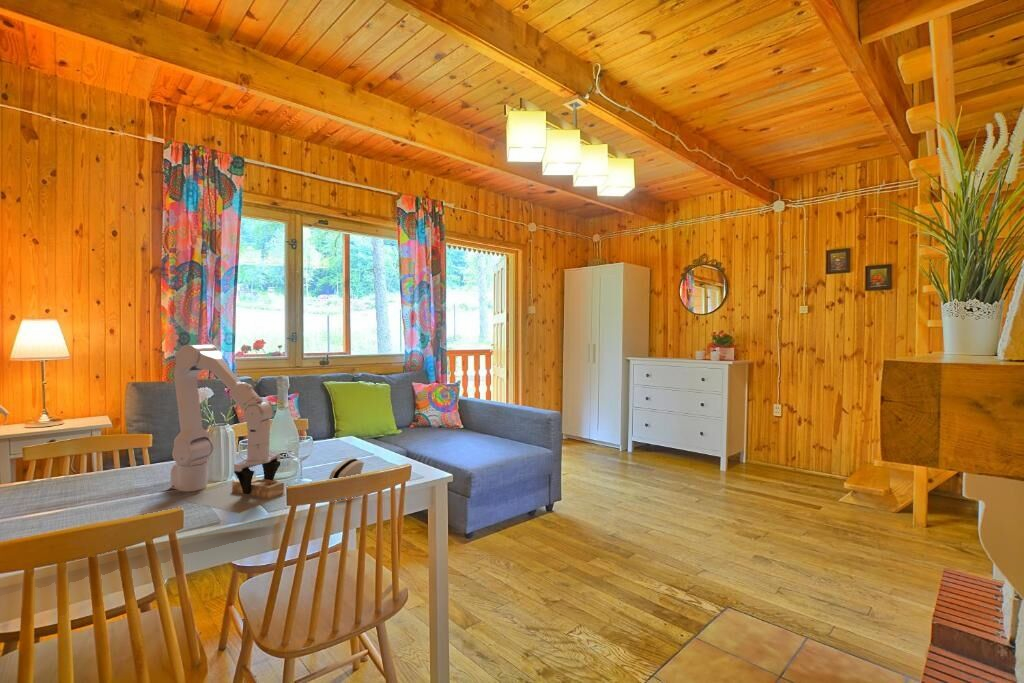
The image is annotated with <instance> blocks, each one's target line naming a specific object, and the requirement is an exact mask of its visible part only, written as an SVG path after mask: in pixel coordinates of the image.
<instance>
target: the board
mask: <svg viewBox="0 0 1024 683" xmlns="http://www.w3.org/2000/svg"><path fill="white" fill-rule="evenodd" d="M259 483H261V482H257V483H255V484H259ZM287 486H288V485H286V484H284V493H281V494H279V495H276V496H273V497H271V498H264V497H259V496H254V495H249V494H244V493H239V492H233V491H232V483H230V484H227V485H223V486H221V487H217V488H214V489H210V490H208V491H204V492H201V493H198V494H195V495H192V496H188V497H186V498H183V499H180V500H179V501H182V502H187V503H191V504H194V505H199V506H204V507H210V508H213V509H218V510H223V511H229V512H232V513H236V514H237V513H238V514H240V513H243V512H245V511H248V510H250V509H252V508H256V507H258V506H260V505H265V504H266V503H269V502H271V501H274V500H276V499H279V498H281V497H284V496H286V495H285V488H286V487H287Z"/></svg>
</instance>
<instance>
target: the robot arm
mask: <svg viewBox="0 0 1024 683" xmlns="http://www.w3.org/2000/svg"><path fill="white" fill-rule="evenodd" d="M174 356H175V357H174V358H175V366H174V370H173V377H174V378H173V379H174V387H175V388H174V389H175V395H176V403H177V404H176V405H177V411H178V413H177V414H178V420H179V428H180V431H179V433H178V434H177V436H176V437H175V438H174V440H173V449H172V455H171V456H172V458H173V460H174V462H175V463H174V464H173V465H172V467H171V469H170V489H175V490H178V491H179V492H180V491H181V492H195V491H200V490H203V489H206V488H207V487H208V460H209V461H210V456H211V455H212V454H213V452H214V449H215V448H214V443H213V441H212V439H211V437H210V433H209V431H207V430H205V429H204V428H203V423H202V422H203V421H202V420H203V418H202V413H201V405H200V404H201V403H200V397H199V396H200V394H199V386H198V378H197V377H198V376H199V374H201V373H202V372H203V370H207V371H210V372H212V373H213V374H214V375H215V376H216V377H217V378H218V379H219V380H220V382H222V384H224V385H225V386H226V387H227V388H228V389H229V394H228V395H229V398H231V399H232V400H233V401H234V402H235V404H236V405H237V406H238V407H239V408H240V409H241V410H242V411H243V414H242V417H243V419H244V421H245V422H246V427H247V445H246V446H247V450H246V451H247V452H246V453H247V454H246V459H243V460H241V461H239V462H235V463H234V464H233V467H234V468H233V469H234V470H233V471H234V472H233V473H234V475H235V476H236V477H237V479H239V481H240V484H241V487H242V491H243V493H244V494H250V492H251V482H252V477H254V475H255V470H251V469H250V468H254V467H257V466H259V465H262V466H261V467H262V470H263V479H267V480H273V481H274V479H275V475H276V473H277V471H278V469H279V467H280V466H281V461H280V460H281V453H280V452H272V453H270V436H271V435H270V432H271V431H270V430H271V429H270V428H271V426H270V425H271V423H270V422H271V420H270V419H272V417H273V416H274V414H275V408H274V406H273V405H272V402H270V401H268V400H265V399H263V397H261V396H259V394H258V393H257V392H256V391H255V390H254V389H253V387H254V386H253V385H252V384H250V383H248V382H244V381H241V380H240V379H239V377H238V376H236V374H235V373H234V370H232V369H231V368H230V366H229V365H228V364H227V362H226V361H225V360H224V358H223V353H222V352H221V351H219V349H218V348H217V347H216V346H215V345H214V344H211V343H206V344H193V345H192V344H184V345H182V346H181V347H180V348H179V349H178V350H177V351H176V352H175V353H174Z"/></svg>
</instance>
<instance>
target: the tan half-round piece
mask: <svg viewBox="0 0 1024 683" xmlns="http://www.w3.org/2000/svg"><path fill="white" fill-rule="evenodd" d="M364 464H365V463H364V461H362V460H358V458H355V457H349V458H345V459H344V460H343V461H341V462H340V463H339V464H338V465H336V466H335V467H334V468H333V469H332V471H331V472H330V475H329V477H328V479H332V478H339V477H346V476H351V475H356V474H360V475H361V473H362V470H363V467H364Z"/></svg>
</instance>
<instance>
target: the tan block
mask: <svg viewBox="0 0 1024 683" xmlns="http://www.w3.org/2000/svg"><path fill="white" fill-rule="evenodd" d="M257 482H261V483H259V484H255V483H257ZM231 484H232V491H233V492H239V493H243V491H242V487H241V484H240V481H239V479H238V478H237V479H235V480H232V483H231ZM284 485H285V482H284V481H277V480H274V479H273V480H267V479H264V478H260V477H255V476H253V477H252V482H251V492H250V494H249V495H254V496H259V497H264V498H271V497H273V496H276V495H279V494H281V493H284Z"/></svg>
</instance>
